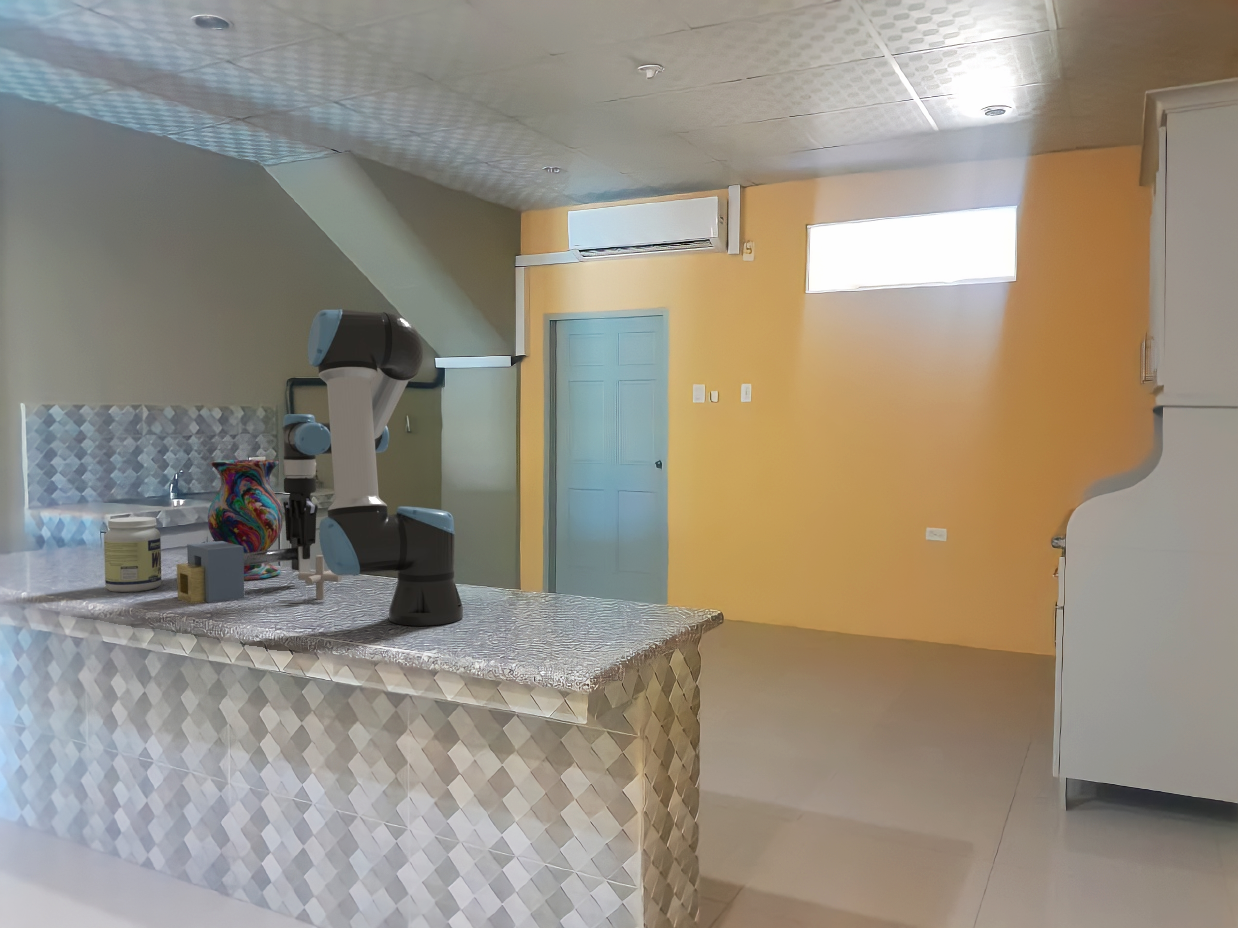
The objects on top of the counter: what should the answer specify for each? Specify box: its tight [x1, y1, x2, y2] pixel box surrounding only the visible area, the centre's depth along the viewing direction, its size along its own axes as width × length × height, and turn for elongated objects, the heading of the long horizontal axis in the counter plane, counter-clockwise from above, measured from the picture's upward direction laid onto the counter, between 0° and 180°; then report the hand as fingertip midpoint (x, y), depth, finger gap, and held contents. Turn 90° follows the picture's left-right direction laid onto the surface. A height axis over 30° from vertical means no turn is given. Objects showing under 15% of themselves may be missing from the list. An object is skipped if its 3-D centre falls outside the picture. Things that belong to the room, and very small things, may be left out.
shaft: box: [244, 536, 300, 572], centre depth 224 cm, size 3×23×8 cm, turn 135°
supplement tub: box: [103, 516, 162, 593], centre depth 226 cm, size 12×12×17 cm
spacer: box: [176, 562, 206, 605], centre depth 213 cm, size 8×3×8 cm, turn 46°
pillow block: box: [186, 541, 245, 604], centre depth 216 cm, size 12×8×12 cm, turn 46°
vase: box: [207, 459, 284, 581], centre depth 243 cm, size 18×18×30 cm
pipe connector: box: [297, 554, 343, 601], centre depth 215 cm, size 10×10×10 cm
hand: (301, 570), depth 232 cm, fingers closed on shaft, 3 cm apart
